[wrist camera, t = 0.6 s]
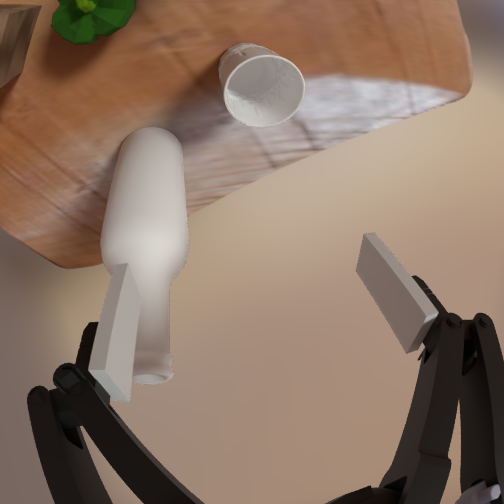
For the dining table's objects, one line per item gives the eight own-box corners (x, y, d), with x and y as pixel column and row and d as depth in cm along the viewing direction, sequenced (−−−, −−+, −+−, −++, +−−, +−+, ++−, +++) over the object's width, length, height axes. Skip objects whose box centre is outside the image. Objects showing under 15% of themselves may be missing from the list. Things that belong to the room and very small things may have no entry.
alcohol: (167, 113, 33) (170, 350, 15) (191, 163, 40) (223, 379, 22) (109, 141, 34) (66, 371, 16) (138, 185, 41) (135, 395, 23)
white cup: (281, 85, 34) (309, 117, 28) (222, 101, 34) (235, 137, 28) (270, 32, 27) (299, 47, 21) (205, 48, 28) (213, 67, 22)
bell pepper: (129, 39, 24) (111, 56, 18) (66, 32, 21) (30, 51, 15) (154, -24, 19) (143, -31, 13) (86, -31, 15) (53, -35, 9)
